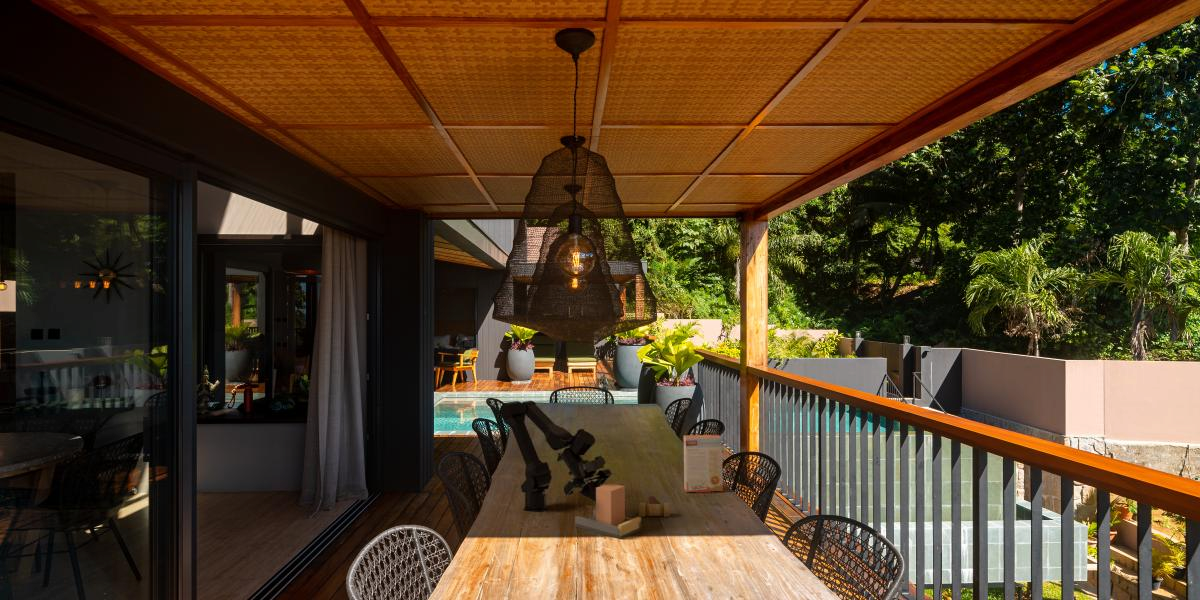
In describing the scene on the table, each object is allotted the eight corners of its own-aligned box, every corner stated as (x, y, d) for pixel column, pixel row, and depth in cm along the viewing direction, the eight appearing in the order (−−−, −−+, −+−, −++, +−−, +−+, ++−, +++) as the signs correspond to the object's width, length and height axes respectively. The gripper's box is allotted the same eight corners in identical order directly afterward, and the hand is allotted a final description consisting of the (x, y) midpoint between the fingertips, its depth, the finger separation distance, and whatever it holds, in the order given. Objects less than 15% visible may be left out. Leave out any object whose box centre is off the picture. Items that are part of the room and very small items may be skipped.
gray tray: (575, 526, 206) (575, 513, 206) (595, 518, 214) (595, 506, 214) (621, 539, 195) (621, 525, 195) (640, 530, 203) (640, 517, 203)
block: (596, 526, 203) (596, 487, 203) (609, 520, 208) (609, 483, 209) (611, 530, 199) (611, 491, 199) (624, 524, 205) (624, 486, 205)
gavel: (638, 491, 236) (665, 491, 236) (638, 503, 236) (665, 504, 235) (639, 504, 215) (669, 504, 215) (639, 518, 215) (669, 519, 215)
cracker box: (719, 488, 250) (719, 434, 250) (722, 492, 244) (722, 437, 244) (683, 488, 250) (683, 434, 250) (685, 493, 244) (685, 437, 244)
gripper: (570, 453, 202) (597, 495, 195) (607, 444, 217) (634, 482, 210) (551, 475, 207) (577, 516, 200) (589, 464, 222) (615, 502, 214)
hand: (602, 503), depth 206 cm, fingers closed, pressing on block
